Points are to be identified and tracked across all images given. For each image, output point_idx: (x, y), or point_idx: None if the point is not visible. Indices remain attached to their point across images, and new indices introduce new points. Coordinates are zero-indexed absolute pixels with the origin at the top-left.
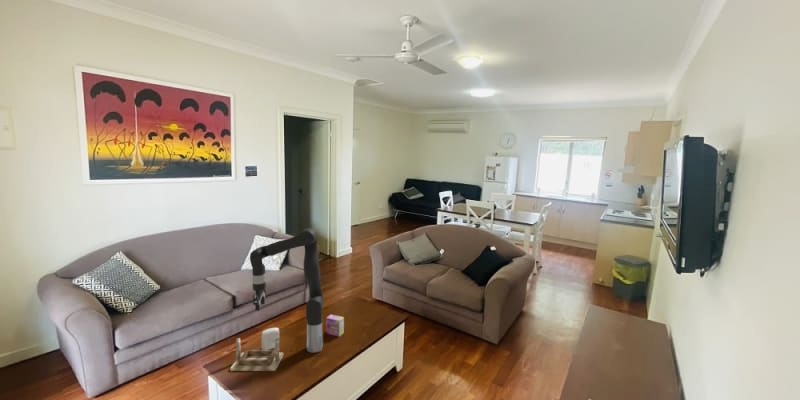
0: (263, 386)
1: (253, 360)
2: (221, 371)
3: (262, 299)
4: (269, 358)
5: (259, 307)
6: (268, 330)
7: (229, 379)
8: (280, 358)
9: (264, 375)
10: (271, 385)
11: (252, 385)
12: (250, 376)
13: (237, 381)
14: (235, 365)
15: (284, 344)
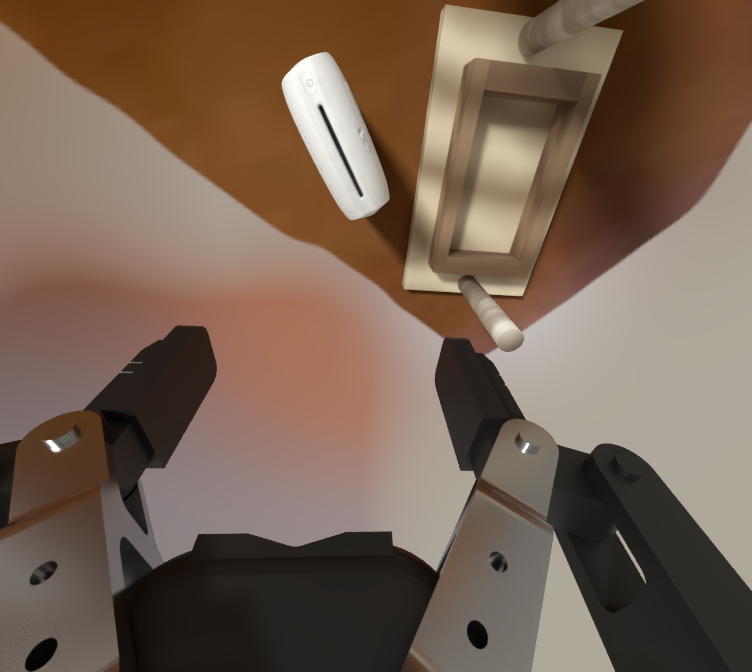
0: (725, 80)
1: (555, 198)
2: None
3: (162, 423)
4: (573, 88)
5: (465, 363)
6: (362, 162)
7: (578, 273)
8: (511, 15)
9: (625, 103)
10: (748, 22)
11: (679, 151)
12: (598, 186)
13: (609, 236)
14: (508, 281)
15: (302, 37)
